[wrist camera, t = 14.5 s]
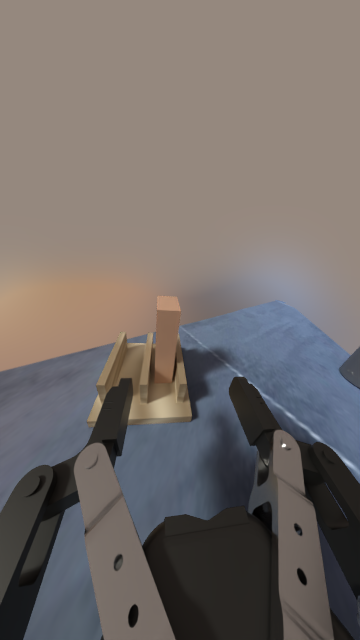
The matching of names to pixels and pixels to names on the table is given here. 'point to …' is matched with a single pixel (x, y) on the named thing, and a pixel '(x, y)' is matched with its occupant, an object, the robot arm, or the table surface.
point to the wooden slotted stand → (144, 384)
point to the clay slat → (166, 337)
